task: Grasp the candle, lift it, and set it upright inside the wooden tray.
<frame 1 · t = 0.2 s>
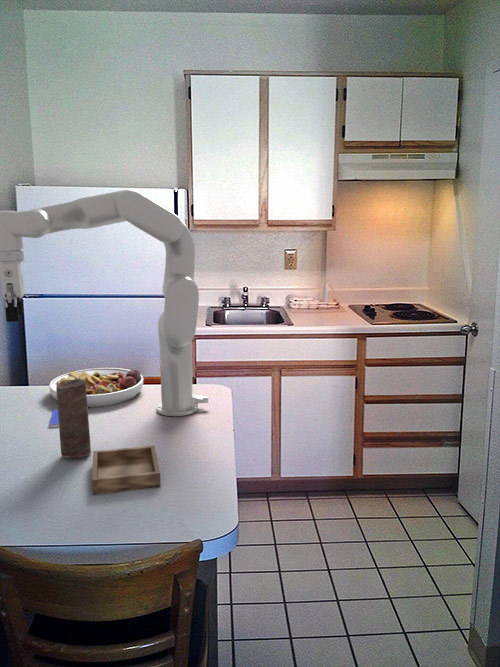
hand: (14, 317, 175), 31 cm above the table, tool pointing down, fingers open, 9 cm apart
wooden tray: (126, 475, 148), on the table
candle: (76, 456, 159), on the table
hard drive: (66, 421, 185), on the table
bowl: (97, 395, 207), on the table
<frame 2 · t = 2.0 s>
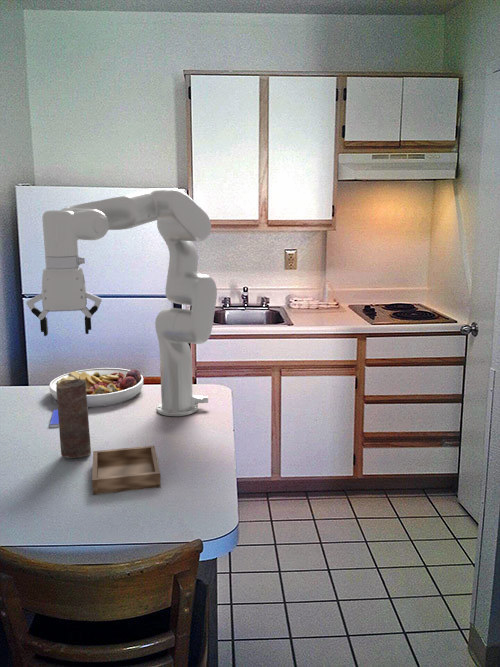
hand: (66, 333, 152), 32 cm above the table, tool pointing down, fingers open, 9 cm apart
nothing on the table moved.
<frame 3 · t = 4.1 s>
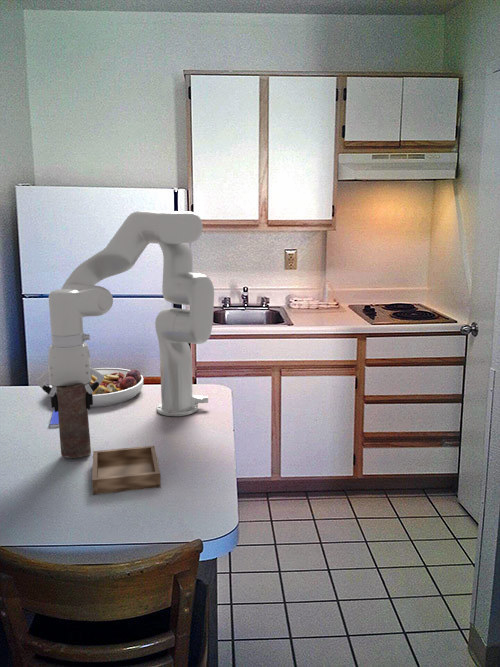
hand: (72, 408, 156), 13 cm above the table, tool pointing down, fingers closed on candle, 7 cm apart
candle: (76, 456, 159), on the table, touching gripper
everything else where it was.
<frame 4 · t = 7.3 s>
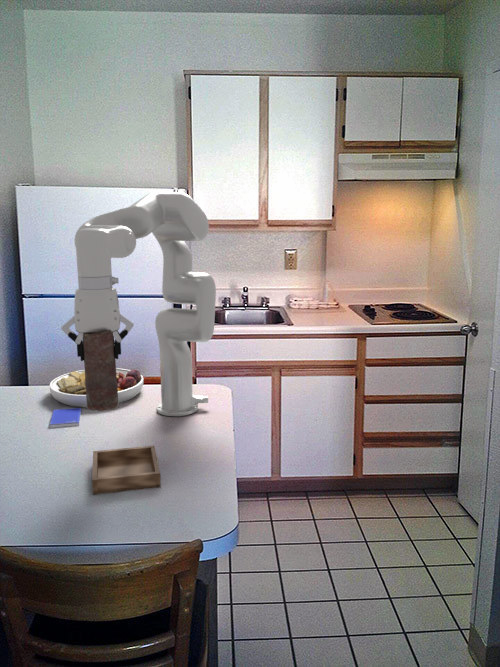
hand: (99, 358, 146), 28 cm above the table, tool pointing down, fingers closed on candle, 7 cm apart
candle: (102, 410, 149), point 15 cm above the table, touching gripper
everything else where it was.
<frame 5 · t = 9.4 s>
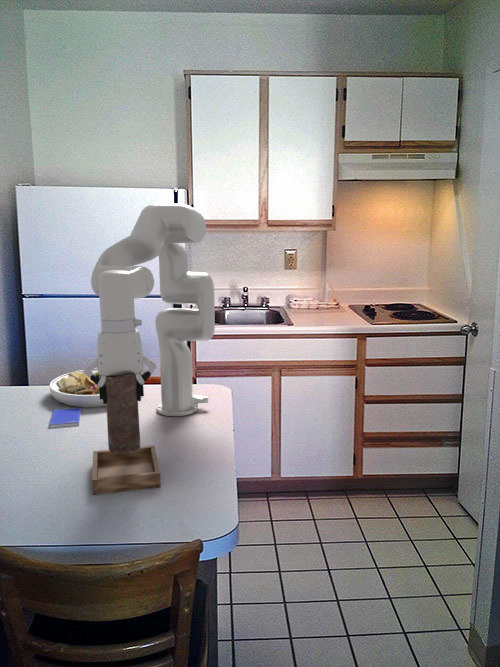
hand: (122, 400, 144), 19 cm above the table, tool pointing down, fingers closed on candle, 7 cm apart
candle: (124, 452, 147), point 6 cm above the table, touching gripper
everything else where it was.
when the fingers open (15 cm above the table, at t = 10.7 s): candle drops 1 cm, resting on wooden tray.
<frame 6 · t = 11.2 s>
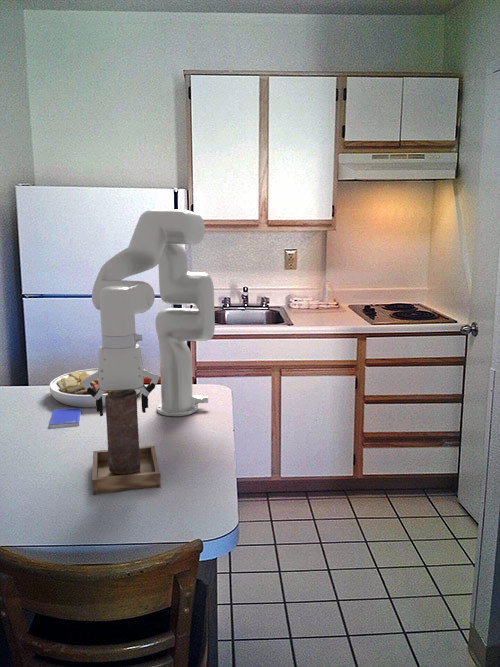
hand: (122, 412, 145), 16 cm above the table, tool pointing down, fingers open, 9 cm apart
candle: (124, 472, 148), point 1 cm above the table, touching wooden tray
everything else where it was.
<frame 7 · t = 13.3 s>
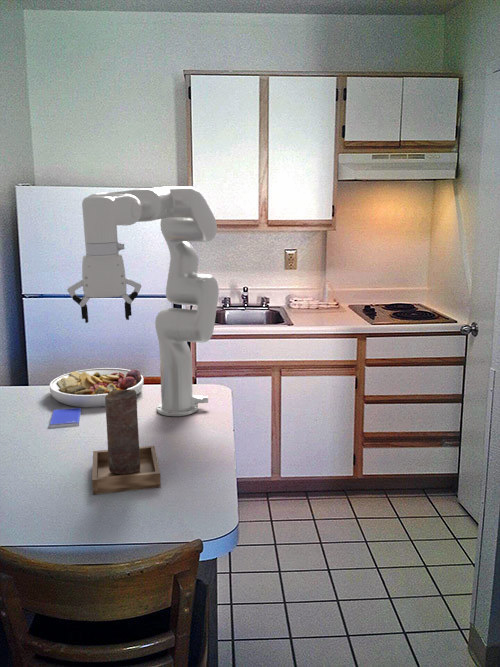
hand: (107, 320, 152), 35 cm above the table, tool pointing down, fingers open, 9 cm apart
nothing on the table moved.
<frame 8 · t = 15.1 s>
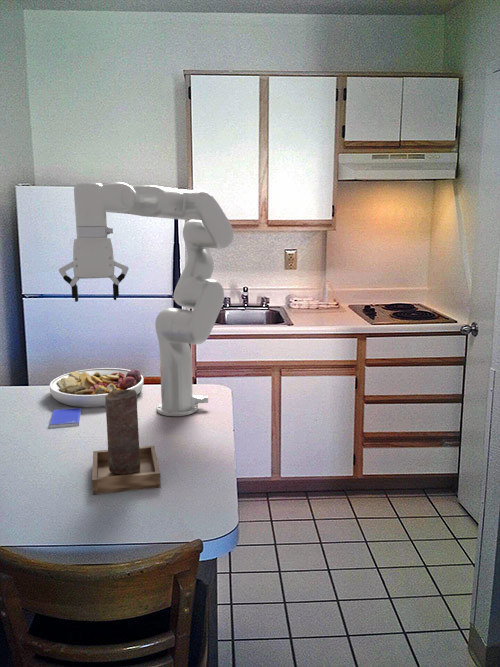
hand: (96, 300, 161), 38 cm above the table, tool pointing down, fingers open, 9 cm apart
nothing on the table moved.
at the end: candle inside the target area on the wooden tray (0.3 cm from its centre), point 0.6 cm above the wooden tray's base; candle tilted 0°; the gripper is holding nothing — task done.
